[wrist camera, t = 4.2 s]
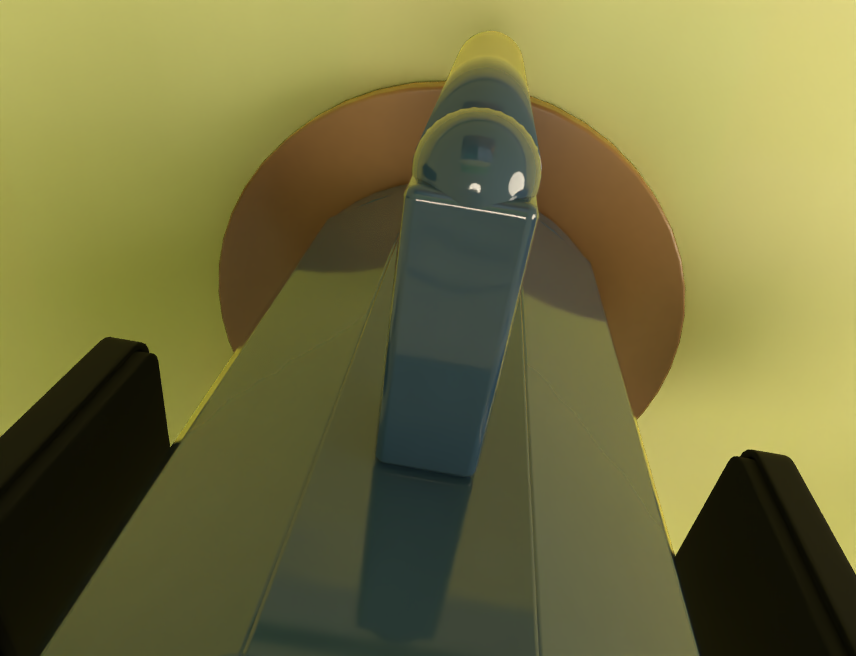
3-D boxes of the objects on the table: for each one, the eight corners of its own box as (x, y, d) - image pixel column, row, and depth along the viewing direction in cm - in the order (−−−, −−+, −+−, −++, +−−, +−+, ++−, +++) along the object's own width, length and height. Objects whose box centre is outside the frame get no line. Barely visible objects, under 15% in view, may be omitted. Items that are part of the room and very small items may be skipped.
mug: (558, 469, 15) (618, 1035, 7) (288, 423, 16) (57, 927, 8) (706, 45, 10) (1503, 417, 2) (292, -20, 10) (-494, 87, 2)
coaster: (236, 441, 17) (228, 456, 17) (214, 39, 11) (201, 44, 11) (602, 505, 17) (604, 522, 16) (760, 127, 11) (773, 136, 11)
